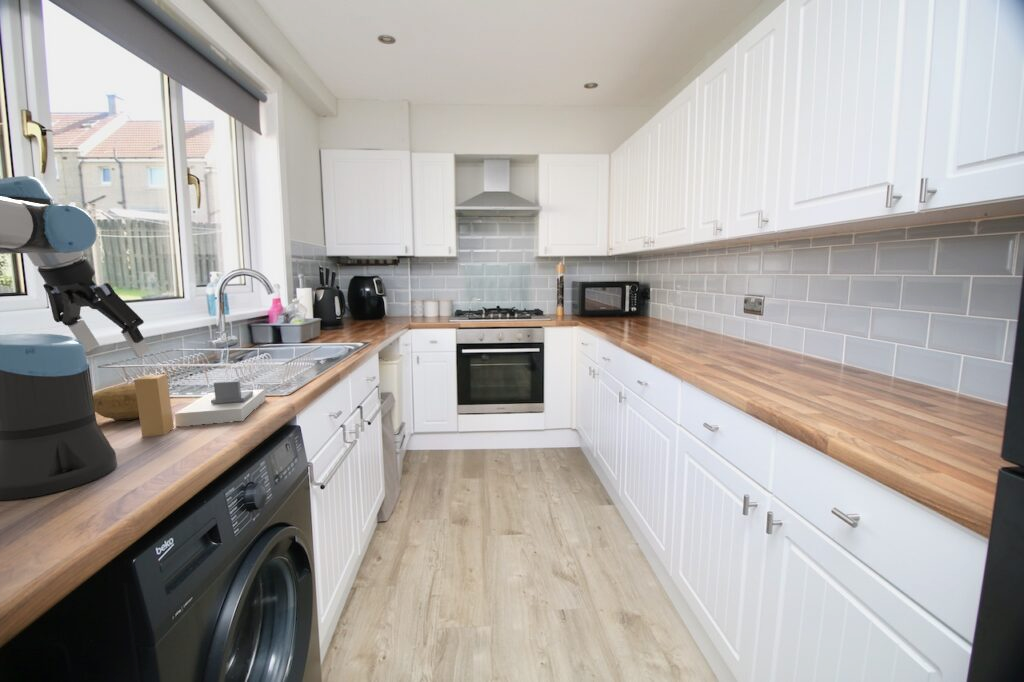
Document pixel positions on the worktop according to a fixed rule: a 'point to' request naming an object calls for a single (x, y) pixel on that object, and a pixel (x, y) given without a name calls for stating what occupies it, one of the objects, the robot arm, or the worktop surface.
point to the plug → (154, 404)
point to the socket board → (218, 410)
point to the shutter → (229, 392)
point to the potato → (117, 402)
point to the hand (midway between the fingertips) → (117, 351)
